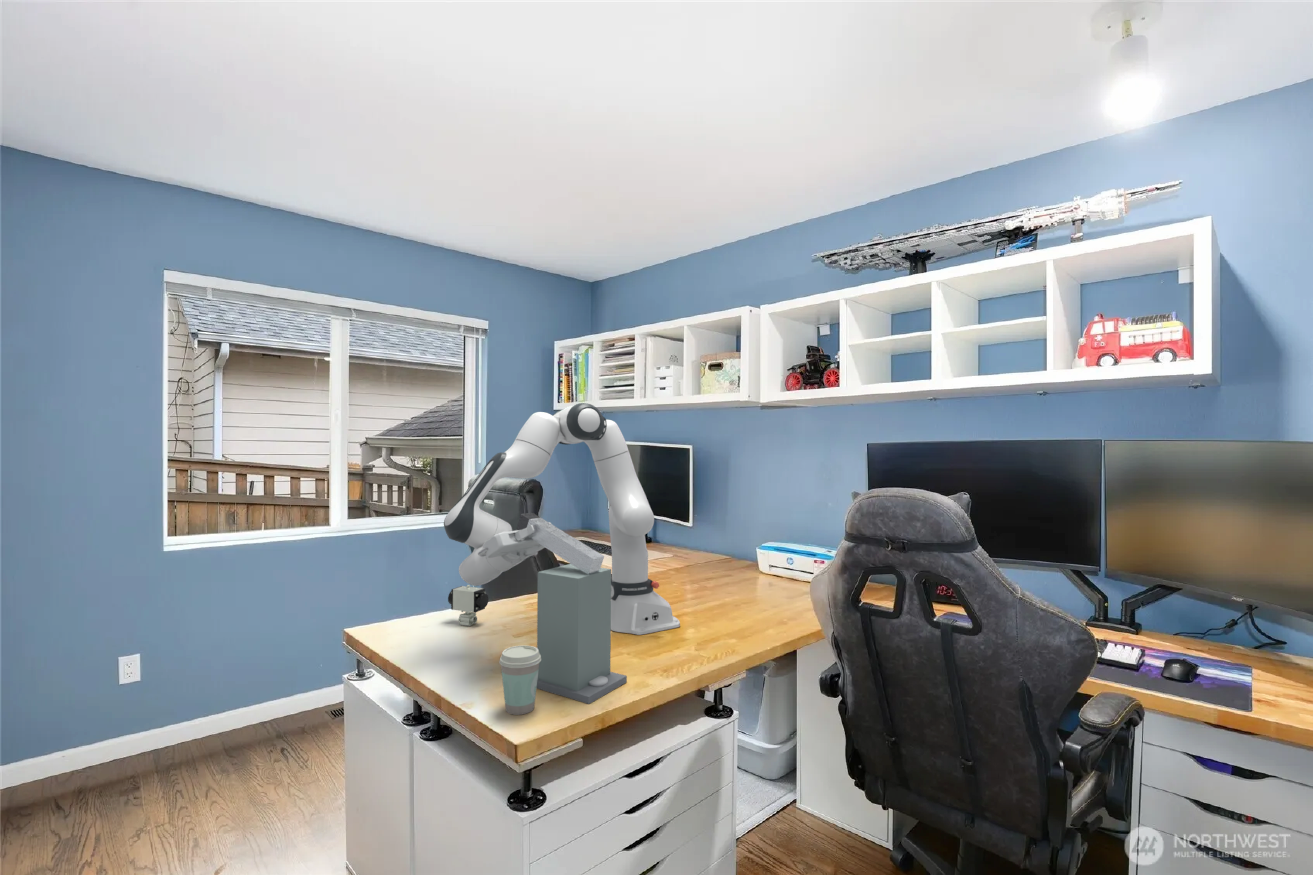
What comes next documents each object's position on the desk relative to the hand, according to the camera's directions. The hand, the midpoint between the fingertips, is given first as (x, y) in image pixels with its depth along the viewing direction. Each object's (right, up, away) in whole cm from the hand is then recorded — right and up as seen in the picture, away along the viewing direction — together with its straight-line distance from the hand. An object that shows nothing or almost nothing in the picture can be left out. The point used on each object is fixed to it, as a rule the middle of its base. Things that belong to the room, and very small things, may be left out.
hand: (542, 526), depth 146 cm
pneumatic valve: (-30, -36, +39) cm, 61 cm away
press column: (+10, -35, -7) cm, 37 cm away
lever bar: (+4, -5, -2) cm, 7 cm away
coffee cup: (-1, -35, -20) cm, 40 cm away
